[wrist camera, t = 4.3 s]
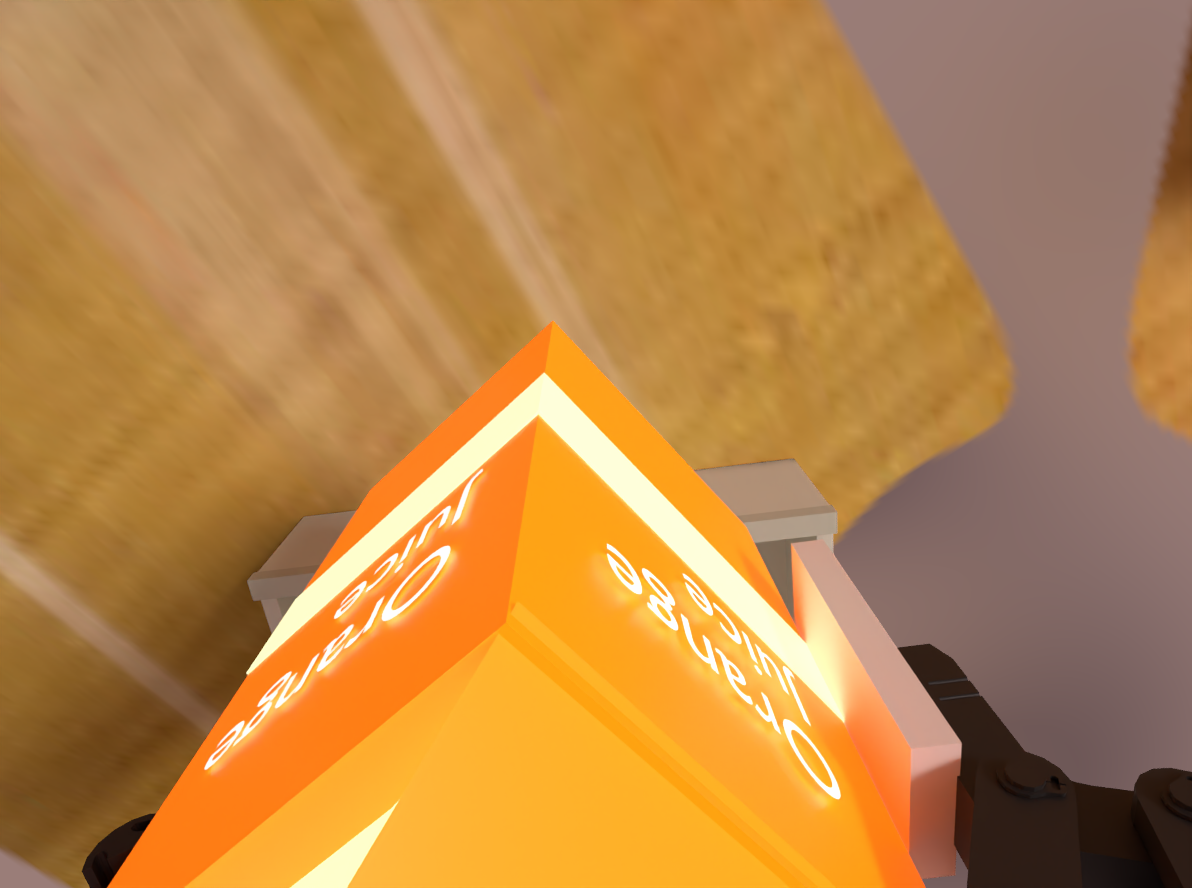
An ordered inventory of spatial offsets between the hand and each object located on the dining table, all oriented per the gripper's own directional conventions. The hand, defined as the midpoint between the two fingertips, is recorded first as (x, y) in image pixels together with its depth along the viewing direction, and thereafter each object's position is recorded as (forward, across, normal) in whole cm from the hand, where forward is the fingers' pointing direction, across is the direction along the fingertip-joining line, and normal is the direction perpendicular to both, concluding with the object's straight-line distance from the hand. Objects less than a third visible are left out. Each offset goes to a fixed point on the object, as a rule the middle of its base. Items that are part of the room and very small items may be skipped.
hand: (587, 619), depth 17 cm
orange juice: (+5, -1, +1) cm, 5 cm away
